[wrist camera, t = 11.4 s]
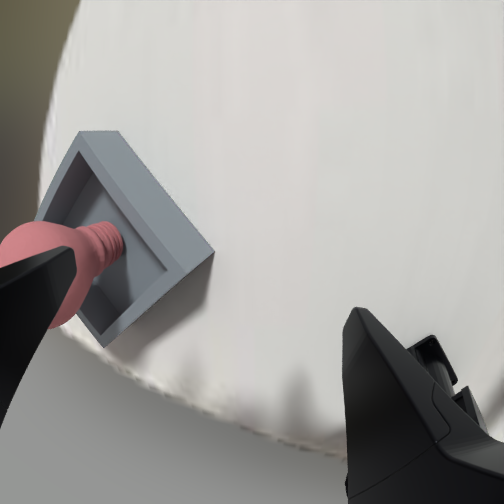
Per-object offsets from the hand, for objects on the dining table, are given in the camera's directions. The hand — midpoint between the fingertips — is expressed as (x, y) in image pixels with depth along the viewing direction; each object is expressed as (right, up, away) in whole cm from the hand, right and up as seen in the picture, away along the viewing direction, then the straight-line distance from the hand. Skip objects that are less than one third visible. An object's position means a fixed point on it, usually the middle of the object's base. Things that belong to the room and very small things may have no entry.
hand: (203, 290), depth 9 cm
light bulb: (-10, +2, +15) cm, 18 cm away
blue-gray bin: (-10, +3, +16) cm, 19 cm away
